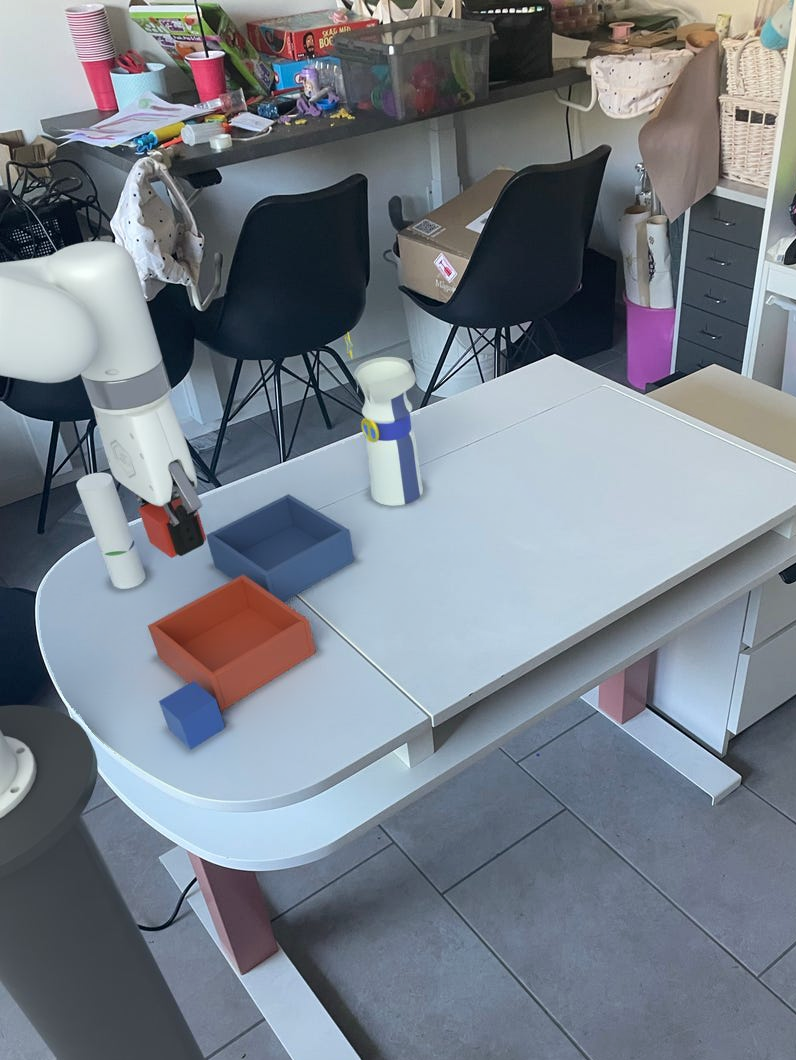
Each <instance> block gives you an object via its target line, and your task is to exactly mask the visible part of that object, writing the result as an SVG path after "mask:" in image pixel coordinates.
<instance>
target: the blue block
mask: <svg viewBox="0 0 796 1060" xmlns="http://www.w3.org/2000/svg"><path fill="white" fill-rule="evenodd" d="M158 703H159V706H160V708H161V711H162V714H163V717H164V720H165V722H166V726H167V727H168V730H169V731H170V732H171V733H172V734H173V735H174V736H175V737H176V738H178V740H179V741H181V742H182V743H183V744H184V745H185V746H186V747H187V748H188V749H189V750H192V749H194V748H195V747H197V746H199V745H200V744H202V743H203V742H205V741H206V740H208V739H210V738H212V737H213V736H214V735H216V734H218V733H219V732H221V731H222V730H223V729H226V727H225V724H224V719H223V717H222V714H221V711H220V710H219V707H218V704H217V701H216V699H215V698H214V697H213V696H211V695H210V694H209V693H208V692H207V691H205V690H204V689H203V688H202V687H201V686H200V685H198V684H197V683H196V682H195V681H192V682H191V683H187V684H186V685H183V686H182V687H180V688H179V689H177V690H176V691H173V692H172V693H170V694H169V695H166V696H165V697H164V698H162V699H160V700H158Z"/></svg>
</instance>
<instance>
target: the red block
mask: <svg viewBox="0 0 796 1060" xmlns="http://www.w3.org/2000/svg"><path fill="white" fill-rule="evenodd" d="M171 503H172V506H173V508H174V510H175V509H176V508H177V506H179V505H181V504H182V500H181V498H178V499H176V500H174V501H172V502H171ZM197 512H198V515H197V519H198V522H199V526H200V529H201V532H202V536H203V539H204V542H206V541H207V537H206V533H205V530H204V527H203V523H202V520H201V516H200V513H199V509H198V510H197ZM138 513H139V515H140V518H141V521H142V524H143V527H144V529H145V533H146V535H147V538H148V541H149V543H150V544H151V545H153V546H154V547H155V548H157V549H158V550H160V551H161V552H162V553H163V554H165V555H166V556H167V557H169V558H171V559H173V558H175V557H177V556H179V555H178V554H176V552H175V549H174V546H173V543H172V540H171V537H170V534H169V531H168V527H167V524H168V523H170V522H169V519H168V517H167V515H166V512H165V510H164V508H163V506H156V505H153V504H151V503H149V504H147V505H145V506H143V507H139V508H138Z"/></svg>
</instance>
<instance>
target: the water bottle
mask: <svg viewBox="0 0 796 1060" xmlns="http://www.w3.org/2000/svg"><path fill="white" fill-rule="evenodd" d="M344 340H345V343H346V354H348V355H349V356H350V358H351V360H353V359H354V358H353V348H354V345H353V343H352V341H351V337H350V332H349V331H347V333H346V336H344ZM353 377H354V380H355V383H356V387H357V388H356V393H357V394H358V392H359V387H360V388H361V390H362V393H363V395H364V403H363V406H362V408H361V415H363V418H362V420H361V422H360V427H361V431H362V433H363V435H364V437H365V447H366V453H367V454H366V455H367V463H368V464H367V465H368V472H369V484H370V485H369V486H370V496H371V498H372V500H373V501H375V502H376V503H378V504H381V505H384V506H390V507H393V506H394V507H395V506H397V507H398V506H404V505H407V504H410V503H413V502H415V501H416V500H418V499H419V498H420V497H421V496H422V494H423V493H424V487H423V481H422V475H421V469H420V462H419V454H418V443H417V439H416V434H415V431H414V428H413V427H412V421H411V412H412V410H413V404H412V402H411V401H409V399H408V396H407V391H408V390H410V389H412V388H413V386H414V385H415V383H416V381H417V378H416V374H415V372H414V370H413V368H412V365H411V364H410V362H408V360H406V359H404V358H402V357H401V358H400V357H395V356H383V357H381V356H380V357H376V358H373V359H368V360H367V361H364V362H363V363H360V364H359V365H357V367H356V369H355V370H354V372H353ZM358 386H359V387H358Z"/></svg>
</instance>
